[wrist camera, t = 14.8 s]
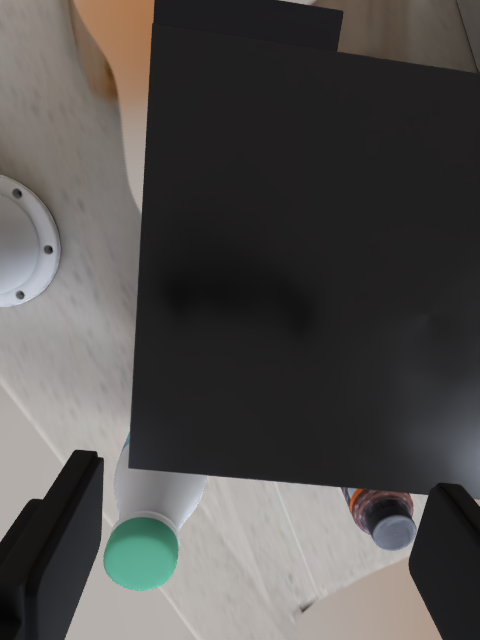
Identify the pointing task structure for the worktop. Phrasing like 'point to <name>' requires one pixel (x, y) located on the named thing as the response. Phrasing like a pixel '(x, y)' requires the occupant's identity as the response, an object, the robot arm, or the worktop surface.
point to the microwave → (305, 257)
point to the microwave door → (472, 25)
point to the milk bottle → (148, 523)
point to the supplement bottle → (383, 516)
